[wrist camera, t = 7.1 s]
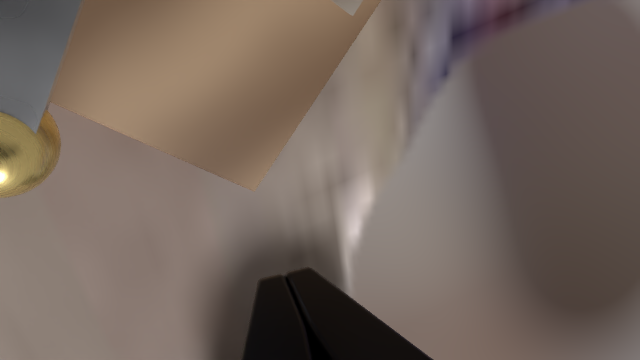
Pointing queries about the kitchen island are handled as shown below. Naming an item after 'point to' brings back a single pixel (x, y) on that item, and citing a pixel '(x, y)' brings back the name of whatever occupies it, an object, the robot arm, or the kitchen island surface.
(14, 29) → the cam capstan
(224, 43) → the stand
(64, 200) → the kitchen island surface
